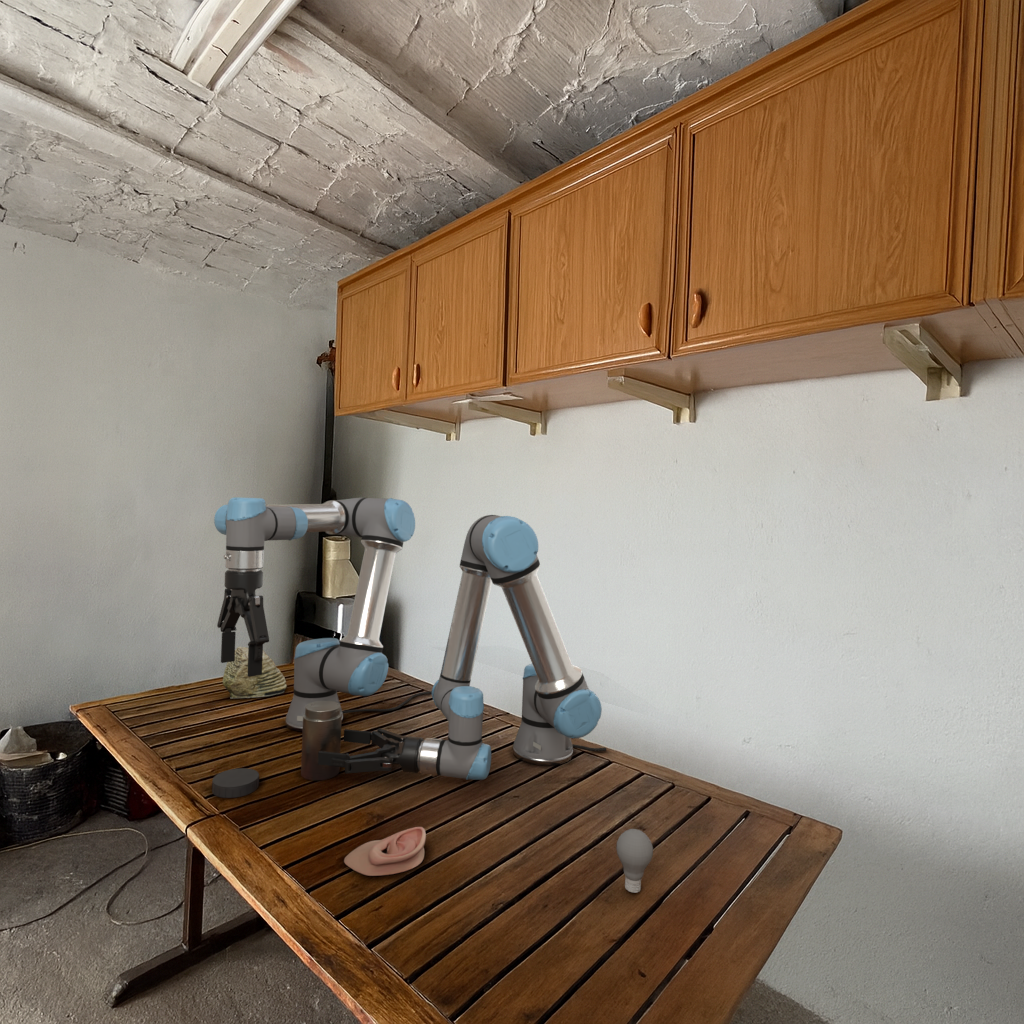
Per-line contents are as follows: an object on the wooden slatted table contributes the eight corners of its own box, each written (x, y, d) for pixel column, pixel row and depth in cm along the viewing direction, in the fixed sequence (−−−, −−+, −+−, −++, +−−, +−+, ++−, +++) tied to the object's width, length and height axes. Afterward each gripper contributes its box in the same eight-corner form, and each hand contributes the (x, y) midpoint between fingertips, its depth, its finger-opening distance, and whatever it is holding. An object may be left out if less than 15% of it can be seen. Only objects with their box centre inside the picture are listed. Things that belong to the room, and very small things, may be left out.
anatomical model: (336, 847, 108) (365, 815, 119) (335, 870, 108) (364, 836, 119) (410, 859, 105) (432, 825, 116) (409, 883, 105) (431, 846, 116)
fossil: (218, 695, 195) (220, 647, 195) (278, 685, 208) (279, 640, 207) (228, 703, 189) (230, 653, 188) (289, 692, 201) (290, 645, 201)
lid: (240, 774, 142) (240, 764, 142) (268, 785, 138) (268, 775, 138) (202, 790, 134) (202, 779, 134) (230, 802, 130) (231, 791, 130)
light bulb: (610, 879, 108) (613, 822, 108) (644, 879, 109) (647, 822, 109) (619, 902, 102) (622, 840, 102) (655, 901, 103) (658, 840, 103)
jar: (345, 774, 145) (348, 707, 145) (309, 783, 139) (312, 714, 139) (330, 761, 151) (333, 697, 151) (295, 770, 146) (297, 703, 146)
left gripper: (203, 564, 141) (200, 659, 142) (252, 577, 124) (248, 685, 124) (237, 563, 147) (234, 654, 147) (288, 575, 129) (284, 678, 130)
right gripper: (403, 797, 129) (305, 786, 133) (435, 750, 154) (353, 742, 157) (405, 761, 129) (307, 750, 132) (437, 720, 154) (354, 712, 157)
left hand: (240, 668), depth 136 cm, fingers open, 13 cm apart
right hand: (331, 745), depth 145 cm, fingers open, 13 cm apart
